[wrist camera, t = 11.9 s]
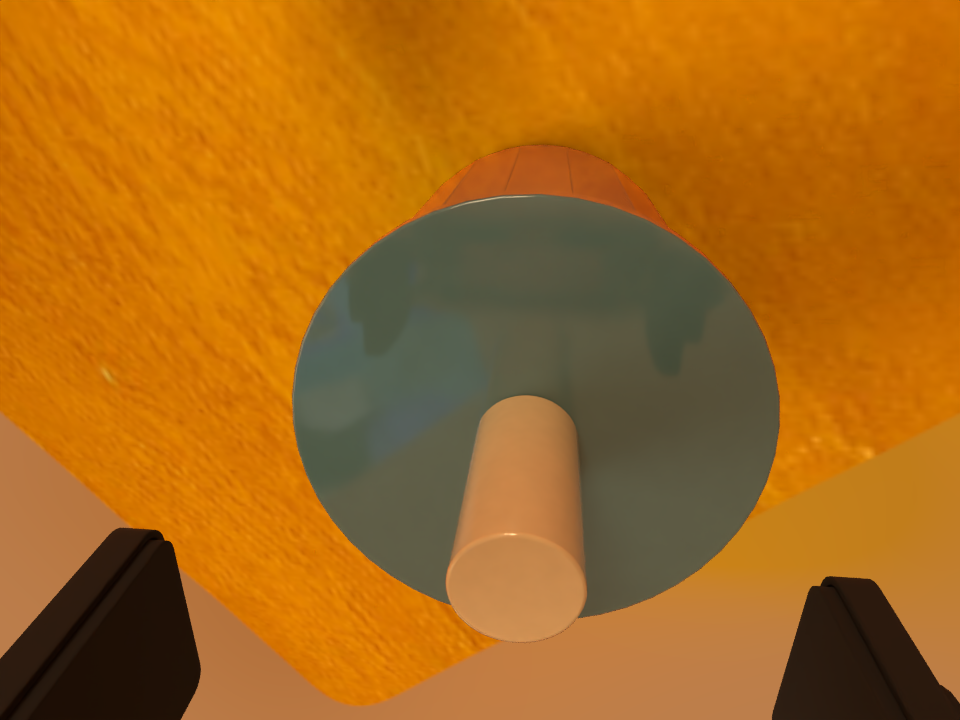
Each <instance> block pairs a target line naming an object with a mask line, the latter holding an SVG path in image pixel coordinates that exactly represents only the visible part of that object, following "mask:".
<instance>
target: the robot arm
mask: <svg viewBox="0 0 960 720" xmlns="http://www.w3.org/2000/svg"><path fill="white" fill-rule="evenodd" d="M200 672H201V668H200V661H199V657H198V652H197V648H196V643H195V639H194V635H193V630H192V626H191V622H190V618H189V613H188V608H187V604H186V600H185V596H184V591H183V587H182V582H181V578H180V573H179V569H178V565H177V560H176V556H175V552H174V548H173V545H172V543H171V542H170V541H164V538H163V535H162V534H161V533H160V532H159V531H157V530H148V529H133V528H118V529H116V530H114V531H113V532H112V533H111V534H110V535H109V536H108V537H107V538H106V539H105V540H104V541H103V542H102V544H101V545H100V546H99V547H98V548H97V549H96V551H95V552H94V553H93V554H92V555H91V556H90V557H89V558H88V560H87V561H86V562H85V563H84V564H83V565H82V566H81V568H80V569H79V570H78V571H77V572H76V573H75V574H74V576H73V577H72V578H71V579H70V580H69V581H68V582H67V583H66V585H65V586H64V587H63V588H62V589H61V590H60V591H59V593H58V594H57V595H56V596H55V597H54V598H53V599H52V601H51V602H50V603H49V604H48V605H47V606H46V607H45V609H44V610H43V611H42V612H41V613H40V614H39V615H38V617H37V618H36V619H35V620H34V621H33V622H32V623H31V625H30V626H29V627H28V628H27V629H26V630H25V631H24V632H23V634H22V635H21V636H20V637H19V638H18V639H17V640H16V642H15V643H14V644H13V645H12V646H11V647H10V649H9V650H8V651H7V652H6V653H5V654H4V655H3V656H2V658H1V659H0V720H181V718H182V716H183V714H184V712H185V711H186V709H187V707H188V705H189V703H190V701H191V699H192V697H193V695H194V694H195V691H196V689H197V687H198V683H199V679H200ZM772 720H960V703H959V702H958V701H957V699H956V698H955V697H954V696H953V694H952V693H951V692H950V691H949V690H947V689H946V688H944V687H943V686H942V685H939V683H938V681H937V680H936V678H935V677H934V675H933V673H932V672H931V670H930V668H929V667H928V665H927V663H926V662H925V660H924V659H923V657H922V655H921V654H920V652H919V651H918V649H917V647H916V646H915V644H914V642H913V641H912V640H911V638H910V636H909V634H908V633H907V631H906V630H905V628H904V626H903V625H902V624H901V622H900V620H899V618H898V617H897V615H896V613H895V612H894V610H893V609H892V607H891V605H890V604H889V602H888V601H887V599H886V597H885V596H884V594H883V593H882V591H881V590H880V588H879V587H878V585H877V584H876V583H875V582H874V581H872V580H871V579H861V578H847V577H833V576H829V577H826V578H825V579H824V580H823V581H822V583H821V586H812V587H811V588H810V590H809V592H808V595H807V599H806V602H805V605H804V609H803V612H802V615H801V619H800V622H799V626H798V629H797V632H796V636H795V639H794V642H793V646H792V649H791V653H790V656H789V659H788V663H787V666H786V669H785V673H784V676H783V680H782V683H781V686H780V690H779V693H778V696H777V700H776V703H775V707H774V710H773V714H772Z"/></svg>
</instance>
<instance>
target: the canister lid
mask: <svg viewBox="0 0 960 720" xmlns="http://www.w3.org/2000/svg"><path fill="white" fill-rule="evenodd" d="M292 405H293V424H294V430H295V435H296V441H297V446H298V451H299V454H300V457H301V460H302V463H303V466H304V469H305V472H306V475H307V477H308V479H309V481H310V483H311V485H312V487H313V489H314V491H315V493H316V495H317V497H318V499H319V501H320V502H321V504H322V505H323V507H324V508H325V510H326V511H327V513H328V514H329V516H330V517H331V519H332V521H333V522H334V523H335V524H336V525H337V526H338V528H339V529H340V530H341V531H342V532H343V534H344V535H345V536H346V537H347V538H348V540H349V541H350V542H351V543H352V544H353V545H355V546H356V547H357V548H358V549H359V550H360V551H361V552H362V553H363V554H364V555H365V556H366V557H367V558H368V559H369V560H371V561H372V562H373V563H375V564H376V565H377V566H379V567H380V568H381V569H383V570H384V571H385V572H387V573H388V574H389V575H391V576H392V577H394V578H396V579H397V580H399V581H401V582H402V583H404V584H406V585H407V586H409V587H411V588H412V589H414V590H417V591H419V592H421V593H423V594H425V595H427V596H429V597H432V598H434V599H436V600H438V601H441V602H444V603H447V604H449V605H452V607H453V608H454V610H455V612H456V613H457V614H458V616H459V617H460V618H461V619H462V620H463V621H464V622H465V623H466V624H468V625H469V626H470V627H472V628H473V629H475V630H476V631H478V632H480V633H482V634H484V635H486V636H488V637H491V638H494V639H497V640H501V641H507V642H516V643H517V642H518V643H527V642H536V641H541V640H545V639H548V638H550V637H553V636H555V635H557V634H559V633H561V632H563V631H564V630H566V629H567V628H568V627H569V626H571V625H572V624H573V623H574V622H575V620H576V619H577V618H583V617H589V616H595V615H601V614H604V613H608V612H611V611H616V610H619V609H623V608H627V607H629V606H632V605H634V604H637V603H640V602H642V601H644V600H647V599H650V598H652V597H654V596H656V595H658V594H660V593H662V592H664V591H666V590H668V589H670V588H671V587H674V586H676V585H677V584H679V583H680V582H682V581H683V580H685V579H686V578H688V577H689V576H690V575H692V574H694V573H695V572H697V571H698V570H699V569H701V568H702V567H703V566H704V565H705V564H706V563H708V562H709V561H710V560H711V559H712V558H713V557H714V556H716V555H717V554H718V553H719V552H720V551H721V550H722V549H723V548H724V547H725V546H726V544H727V543H728V542H729V541H730V540H731V539H732V538H733V537H734V535H735V534H736V533H737V532H738V531H739V529H740V528H741V527H742V525H743V524H744V522H745V521H746V519H747V518H748V516H749V515H750V513H751V512H752V510H753V509H754V507H755V505H756V503H757V501H758V499H759V497H760V495H761V493H762V491H763V489H764V487H765V485H766V483H767V480H768V476H769V473H770V470H771V467H772V464H773V460H774V457H775V453H776V447H777V440H778V434H779V427H780V396H779V390H778V384H777V378H776V372H775V366H774V363H773V360H772V357H771V354H770V351H769V348H768V345H767V342H766V339H765V337H764V335H763V333H762V331H761V329H760V327H759V325H758V323H757V321H756V319H755V317H754V316H753V314H752V312H751V310H750V308H749V307H748V305H747V304H746V303H745V301H744V300H743V299H742V297H741V296H740V294H739V293H738V292H737V290H736V289H735V288H734V286H733V285H732V283H731V282H730V281H729V280H728V278H727V277H726V276H725V275H724V274H723V273H722V272H721V271H720V270H719V269H718V268H717V267H716V266H715V265H714V264H713V263H712V262H711V261H710V260H709V259H708V258H707V257H706V256H705V255H704V253H703V252H701V251H700V250H699V249H697V248H696V247H695V246H693V245H692V244H691V243H689V242H688V241H687V240H685V239H684V238H683V237H681V236H680V235H679V234H677V233H676V232H675V231H673V230H671V229H669V228H668V227H666V226H664V225H662V224H660V223H659V222H657V221H655V220H653V219H651V218H650V217H648V216H646V215H644V214H642V213H639V212H636V211H634V210H631V209H629V208H626V207H624V206H621V205H618V204H616V203H613V202H610V201H606V200H602V199H598V198H594V197H589V196H585V195H581V194H577V193H568V192H558V191H549V190H512V191H500V192H494V193H488V194H482V195H476V196H470V197H466V198H463V199H460V200H457V201H453V202H450V203H447V204H444V205H440V206H437V207H435V208H433V209H431V210H428V211H426V212H424V213H422V214H420V215H418V216H416V217H413V218H411V219H409V220H407V221H405V222H404V223H402V224H401V225H399V226H397V227H396V228H394V229H393V230H391V231H390V232H388V233H387V234H385V235H384V236H382V237H381V238H379V239H378V240H377V241H376V242H374V243H373V244H372V245H371V246H370V247H369V248H368V249H366V250H365V251H364V252H363V253H362V254H361V255H359V256H358V257H357V258H356V259H355V260H354V261H353V262H352V263H351V264H350V265H349V266H348V267H347V269H346V270H345V271H344V272H343V273H342V274H341V276H340V277H339V278H338V279H337V280H336V281H335V283H334V284H333V285H332V286H331V287H330V288H329V290H328V292H327V293H326V295H325V296H324V298H323V300H322V301H321V303H320V304H319V306H318V308H317V309H316V311H315V312H314V314H313V317H312V319H311V321H310V323H309V326H308V328H307V330H306V333H305V335H304V337H303V340H302V343H301V347H300V351H299V354H298V358H297V362H296V366H295V373H294V382H293V391H292Z"/></svg>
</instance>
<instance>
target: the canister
mask: <svg viewBox="0 0 960 720" xmlns="http://www.w3.org/2000/svg"><path fill="white" fill-rule="evenodd" d="M512 190H549V191H558V192H568V193H577V194H581V195H585V196H589V197H594V198H598V199H602V200H606V201H610V202H613V203H616V204H618V205H621V206H624V207H626V208H629V209H631V210H634V211H636V212H639V213H642V214H644V215H646V216H648V217H650V218H651V219H653V220H655V221H657V222H659V223H660V224H662V225H664V226H666V227H668V226H667V225H666V223H665V222H664V220H663V219H662V217H661V216H660V214H659V213H658V211H657V210H656V208H655V207H654V205H653V204H652V202H651V201H650V199H649V198H648V196H647V195H646V193H644V191H643V190H642V189H641V188H640V187H638V186H637V185H636V184H635V183H634V182H633V181H632V180H631V179H630V178H629V177H627V176H626V175H625V174H624V173H622V172H621V171H620V170H618V169H617V168H616V167H614V166H613V165H611V164H610V163H609V162H606V161H604V160H602V159H600V158H598V157H596V156H593V155H591V154H588V153H585V152H583V151H580V150H576V149H571V148H567V147H563V146H553V145H525V146H519V147H514V148H508V149H505V150H502V151H498V152H495V153H492V154H489V155H487V156H485V157H482V158H480V159H479V160H475V161H474V162H473V163H471V164H470V165H468V166H467V167H465V168H464V169H462V170H461V171H459V172H458V173H457V174H455V175H454V176H453V177H452V178H450V179H449V180H448V181H446V182H445V183H443V184H442V185H441V186H440V188H439V189H438V190H437V191H436V192H435V193H434V194H433V195H432V197H431V198H430V199H429V200H428V201H427V202H426V203H425V204H424V206H423V207H422V208H421V209H420V210H419V211H418V212H417V213H416V215H415V216H414V217H416V216H418V215H420V214H422V213H424V212H426V211H428V210H431V209H433V208H435V207H437V206H440V205H444V204H447V203H450V202H453V201H457V200H460V199H463V198H466V197H470V196H476V195H482V194H488V193H494V192H500V191H512Z"/></svg>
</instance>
